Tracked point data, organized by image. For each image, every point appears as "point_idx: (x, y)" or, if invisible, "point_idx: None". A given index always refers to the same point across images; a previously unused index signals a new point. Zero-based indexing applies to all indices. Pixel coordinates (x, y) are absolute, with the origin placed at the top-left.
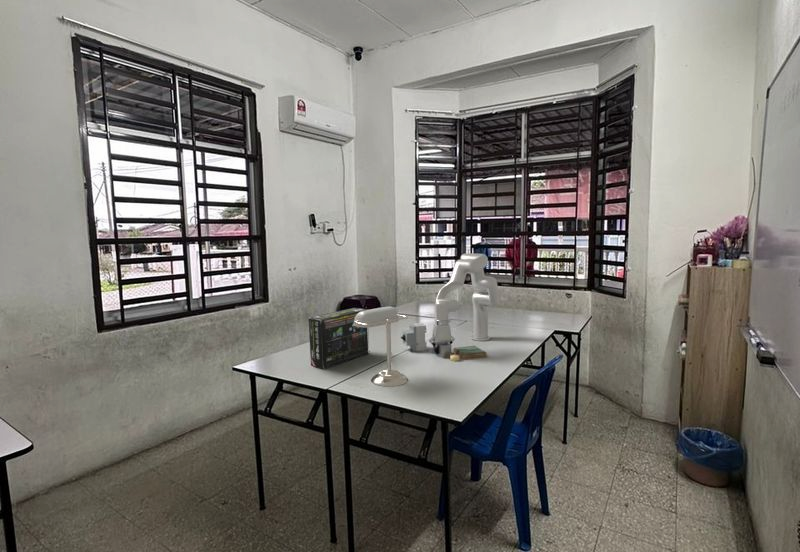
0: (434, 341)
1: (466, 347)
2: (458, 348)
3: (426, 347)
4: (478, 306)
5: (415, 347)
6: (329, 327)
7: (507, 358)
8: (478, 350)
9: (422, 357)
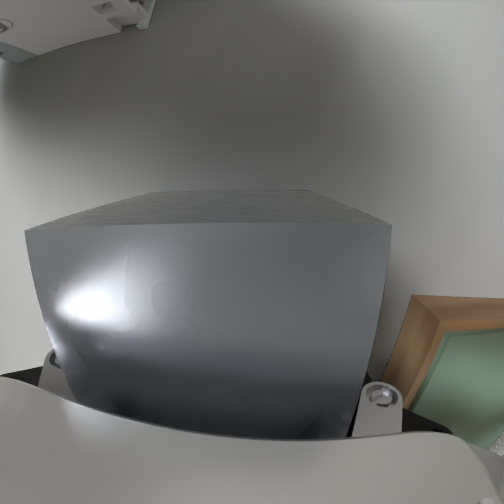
0: (58, 259)
1: None
2: (454, 376)
3: (132, 13)
4: None
5: (3, 49)
6: None
7: (491, 451)
8: (485, 439)
9: (19, 294)
